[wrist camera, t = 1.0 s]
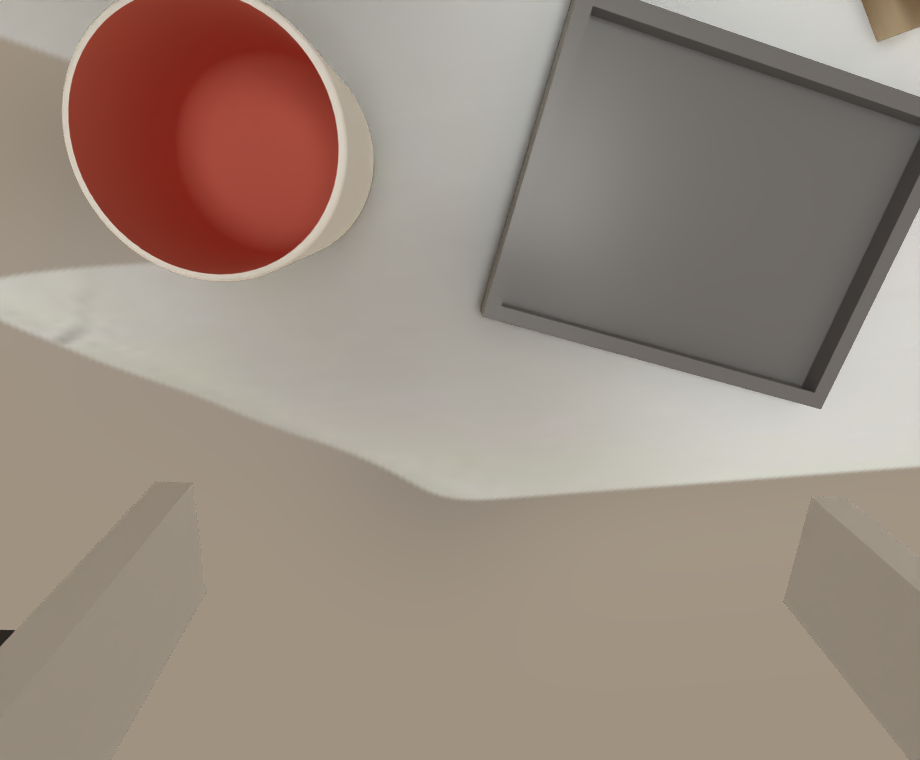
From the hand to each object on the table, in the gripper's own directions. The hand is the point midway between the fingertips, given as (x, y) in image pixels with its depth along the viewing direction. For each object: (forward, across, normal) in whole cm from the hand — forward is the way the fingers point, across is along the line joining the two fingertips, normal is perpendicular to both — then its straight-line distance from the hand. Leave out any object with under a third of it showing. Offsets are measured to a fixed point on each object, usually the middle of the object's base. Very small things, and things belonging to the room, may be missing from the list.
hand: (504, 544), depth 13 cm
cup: (+22, -10, +8) cm, 26 cm away
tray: (+22, +12, +6) cm, 26 cm away
